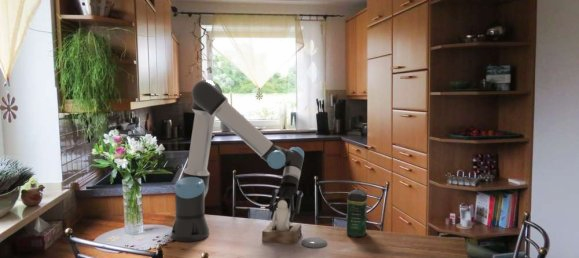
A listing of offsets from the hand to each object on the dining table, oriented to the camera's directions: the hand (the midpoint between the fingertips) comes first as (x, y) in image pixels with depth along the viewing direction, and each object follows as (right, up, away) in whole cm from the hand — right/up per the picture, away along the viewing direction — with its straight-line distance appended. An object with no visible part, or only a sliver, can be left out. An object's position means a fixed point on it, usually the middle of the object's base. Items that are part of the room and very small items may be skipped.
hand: (279, 227), depth 166 cm
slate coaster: (+14, -6, -2) cm, 15 cm away
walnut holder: (+1, -5, +4) cm, 7 cm away
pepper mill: (+1, -5, +4) cm, 7 cm away
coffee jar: (+32, -5, +9) cm, 34 cm away
